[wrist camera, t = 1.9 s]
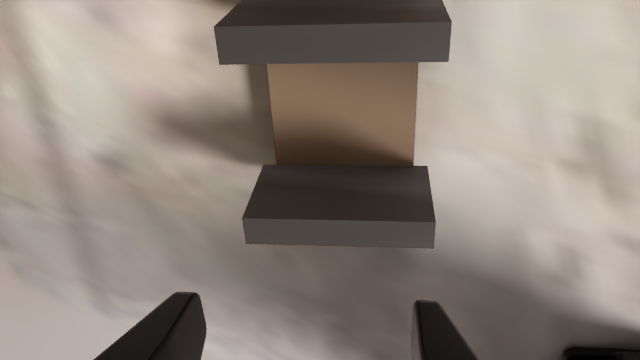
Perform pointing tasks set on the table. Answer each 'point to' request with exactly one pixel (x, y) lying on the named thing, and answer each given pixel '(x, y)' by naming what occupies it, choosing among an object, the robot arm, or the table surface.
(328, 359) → the table surface
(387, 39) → the wooden frame
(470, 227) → the table surface
